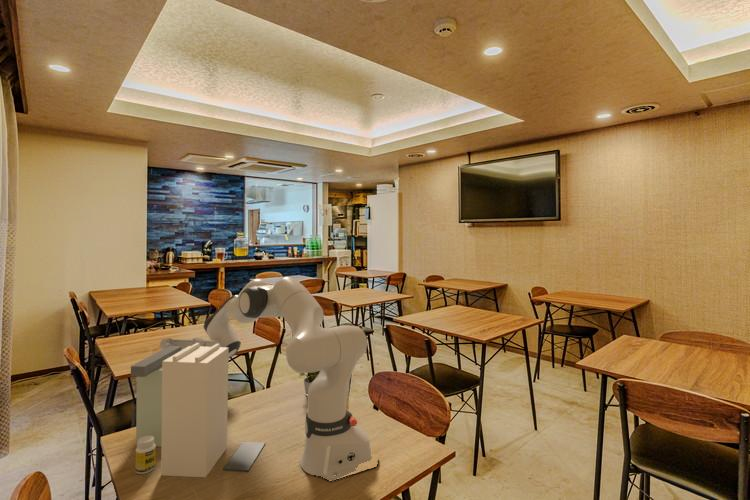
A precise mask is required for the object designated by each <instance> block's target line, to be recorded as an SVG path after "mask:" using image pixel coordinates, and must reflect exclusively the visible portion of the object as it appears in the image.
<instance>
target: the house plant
mask: <svg viewBox="0 0 750 500" xmlns="http://www.w3.org/2000/svg"><path fill="white" fill-rule="evenodd" d="M320 371H321V370H320ZM320 371H317V372H311V373H307V374H306V373H298V376H299V377H303V376H305V378H304V379H303V384H304V391H305V395H306V394H308V390H309V386H310V384H311V383H312V382H313V381H314V380H315V378H316V377H317V376H318V375H319V373H320Z"/></svg>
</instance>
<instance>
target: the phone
mask: <svg viewBox="0 0 750 500" xmlns="http://www.w3.org/2000/svg"><path fill="white" fill-rule="evenodd" d="M265 446H266V442H258V441H257V442H255V441H243V442H242V443H241V444H240V446H239V447H238V448H237V449H236V450H235V452H234V453H233V455H232V456H231V457H230V458H229V460H228V461H227V463H226V464H225V466H224V467H223V469H222V470H223V471H226V472H228V471H229V472H239V473H240V472H242V473H249V472H250V469H251V468H252V466H253V465H254V463H255V462H256V460H257V458H258V457H259V455H260V454H261V452H262V451H263V449H264V447H265Z"/></svg>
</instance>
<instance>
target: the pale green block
mask: <svg viewBox="0 0 750 500" xmlns="http://www.w3.org/2000/svg"><path fill="white" fill-rule="evenodd" d="M135 419H136V425H135V426H136V430H135V433H136V435H135V440H136V441H135V445H136V446H137V441H138V440H139V439H140V438H142V437H144V436H153V437H154V443H155V445H156V447H161V441H162V367H161V368H159V369H157V370H155V371H154V372H152V373H150V374H149V375H147V376H145V377H136V417H135Z"/></svg>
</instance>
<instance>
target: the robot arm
mask: <svg viewBox="0 0 750 500" xmlns="http://www.w3.org/2000/svg"><path fill="white" fill-rule="evenodd" d="M230 316H231V317H232V318H233V319H234V320H235V321H236V322H239V323H242V324H252V323H253V322H256V321H257V320H258V319H259V318H263V319H265V318H279V317H283V319H284V320H285V322H286V323H287V325H288V327H289V328H290V330H291V333H292V335H291V336H292V337H291V339H289V341H288V343H287V346H286V349H285V359H286V361H287V364H288V366H289V367H290V368H291V370H293V371H294V372H295V373H298V374H300V373H305V374H308V373H311V372H317V371H320V370H321V371H320V372H319V375H318V376H317V377H316V378H315V380H314V381H313V382H312V383H311V384H310V386H309V390H308V396H307V412H306V414H305V420H304V421H305V422H304V423H305V425H304V430H305V431H304V432H305V441H304V448H303V451H302V456H301V459H300V462H299V463H300V466H301V469H302V470H303V471H304V472H305V473H307V474H309V475H311V476H314V475H316V476H315V477H318V476H321V477H320V478H322V477H323V478H322V479H324V478H325V479H327V480H335V479H337V478H340V477H342V476H344V475H347V474H349V473H351V472H354V471H356V469H355V468H357V467H358V465H359V464H361V463H364V462H367V461H370V460H371V459H372V456H371V446H370V444H371V443H370V439H369V436H368V435H367V433H366V432H365V431H364V429H362V428H361V427H359V426H358V420H357V419H356V417H355V416H353V413H352V412H350V411H349V409H348V410H347V409H346V400H347V389H348V384H349V380H351V377H352V374H353V372H354V370H355V367H356V365H357V364H358V362H359V361H360V359H361V358H362V357H363V356H364V354H365V353H366V351H367V349H368V348H367V347H368V339H367V336H366V333H365V332H364V330H363V329H362V328H361V327H359V326H356V325H337V326H334V327H332V326H331V327H326V328H324V327H323V326H321V324H322V323H323V320H324V310H323V307H322V306H321V304H319V302H318V301H317V300H316V299H315V296H314V295H312V293H311V292H310V291H309V290H308V288H307V287H305V285H303V284H302V283H301V282H300V281H298V280H297V279H295V278H294V277H291V276H290V277H289V276H285V277H282V278H280V279H278V280H277V281H276V282H275V284H270V283H269V282H268V281H266V280H265V279H260V278H256V279H255V278H254V279H253V280H252V279H251V280H250V281H249V282H248V283H247V284H246V285H245V286H244V287H243V288H242V290H241V291H240V292H239V294H235V295H232V296H229V298H227V299H226V300H225V301H224V302H223V303H222V304H221V305H220V306H219V308H217V310H215V312H214V313H213V314H211V315H209V316H208V317H207V318H206V320H205V321H204V324H203V329H204V331H205V332H206V334H207V335H208V338H209V339H206V338H203V337H193V338H191V339H185V338H170V337H165V338H162V339H161V340H160V342H159V346H158V347H159V349H160V350H163V349H165V348H167V347H169V346H182V350H183V349H185V348H187V347H188V346H192V345H194V344H195V343H200V346H203V347H212V346H214V345H215V344H220V347H228V348H229V354H228V360H229V359H230V358H232V357H234V356H235V355H236V354H237V352H238V351H239V350H240V348H241V343H242V342H241V340H240V338H239V336H238V334H237V332H236V330H235V329H234V326H233V325H232V323H231V319H230ZM334 475H336V476H334ZM325 479H324V480H325ZM327 480H326V481H327Z"/></svg>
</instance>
